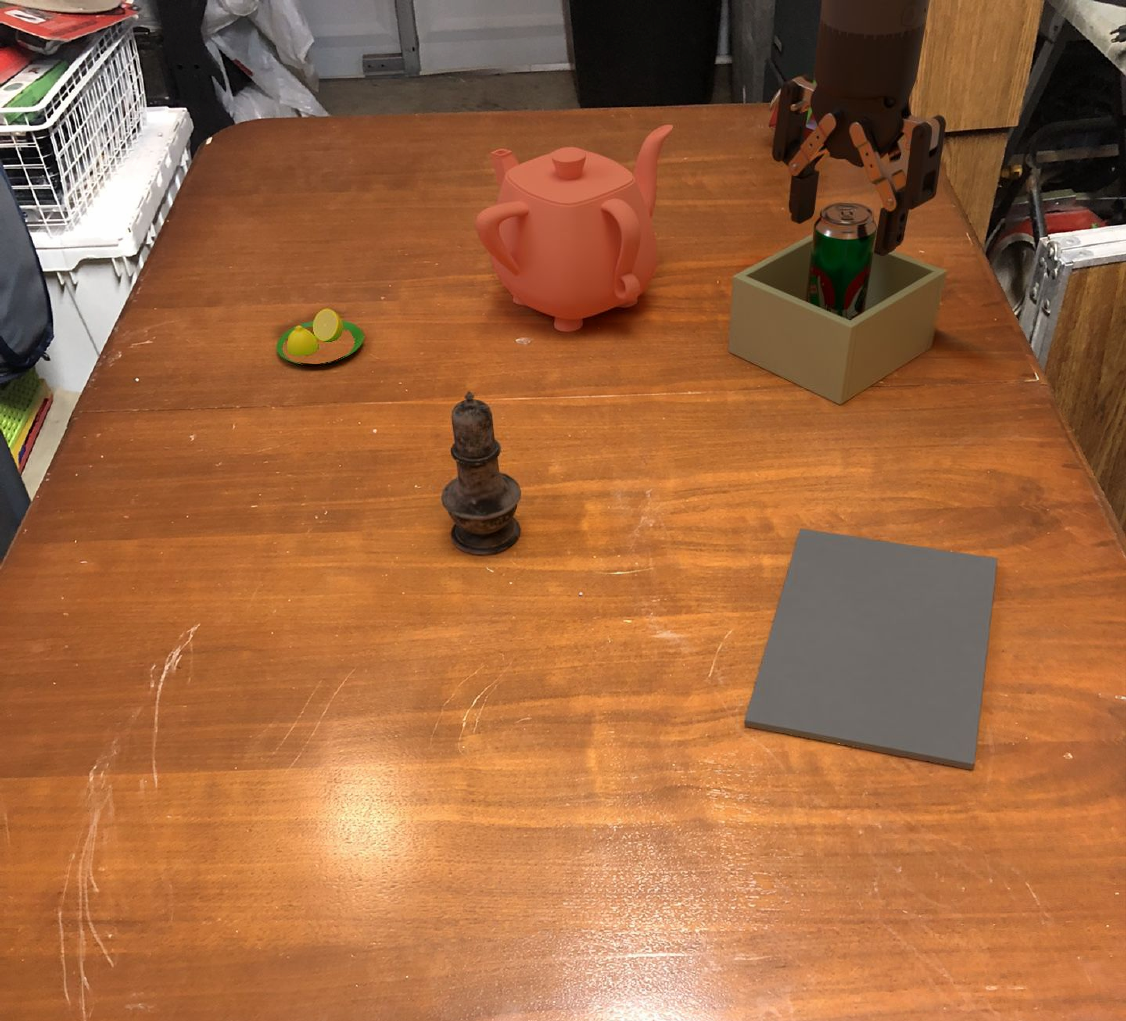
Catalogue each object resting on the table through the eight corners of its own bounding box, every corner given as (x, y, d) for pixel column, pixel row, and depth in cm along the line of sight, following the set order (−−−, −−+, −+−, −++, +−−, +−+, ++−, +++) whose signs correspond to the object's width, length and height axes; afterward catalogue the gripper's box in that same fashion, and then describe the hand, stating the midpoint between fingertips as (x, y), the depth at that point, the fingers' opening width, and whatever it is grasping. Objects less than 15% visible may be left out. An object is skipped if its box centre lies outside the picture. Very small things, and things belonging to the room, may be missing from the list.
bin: (818, 299, 109) (827, 225, 104) (931, 347, 103) (947, 270, 98) (727, 351, 104) (732, 275, 99) (840, 405, 98) (851, 327, 92)
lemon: (318, 317, 112) (312, 289, 110) (382, 339, 108) (377, 310, 106) (259, 356, 107) (252, 327, 105) (324, 379, 104) (318, 350, 102)
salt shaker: (482, 500, 91) (466, 359, 82) (540, 527, 89) (529, 385, 80) (430, 538, 88) (407, 397, 79) (488, 568, 86) (471, 425, 77)
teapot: (500, 258, 118) (488, 115, 108) (669, 257, 116) (673, 112, 106) (482, 342, 107) (466, 192, 97) (667, 342, 106) (671, 190, 96)
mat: (799, 534, 87) (800, 528, 86) (995, 564, 83) (997, 558, 83) (743, 726, 74) (744, 720, 74) (972, 770, 71) (974, 764, 70)
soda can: (856, 335, 105) (876, 199, 96) (860, 365, 102) (881, 227, 93) (798, 334, 105) (814, 199, 96) (801, 364, 102) (816, 227, 93)
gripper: (989, 19, 82) (942, 247, 94) (828, -22, 89) (804, 195, 101) (924, 48, 79) (884, 280, 91) (763, 3, 86) (746, 224, 98)
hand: (842, 235), depth 96 cm, fingers open, 8 cm apart
